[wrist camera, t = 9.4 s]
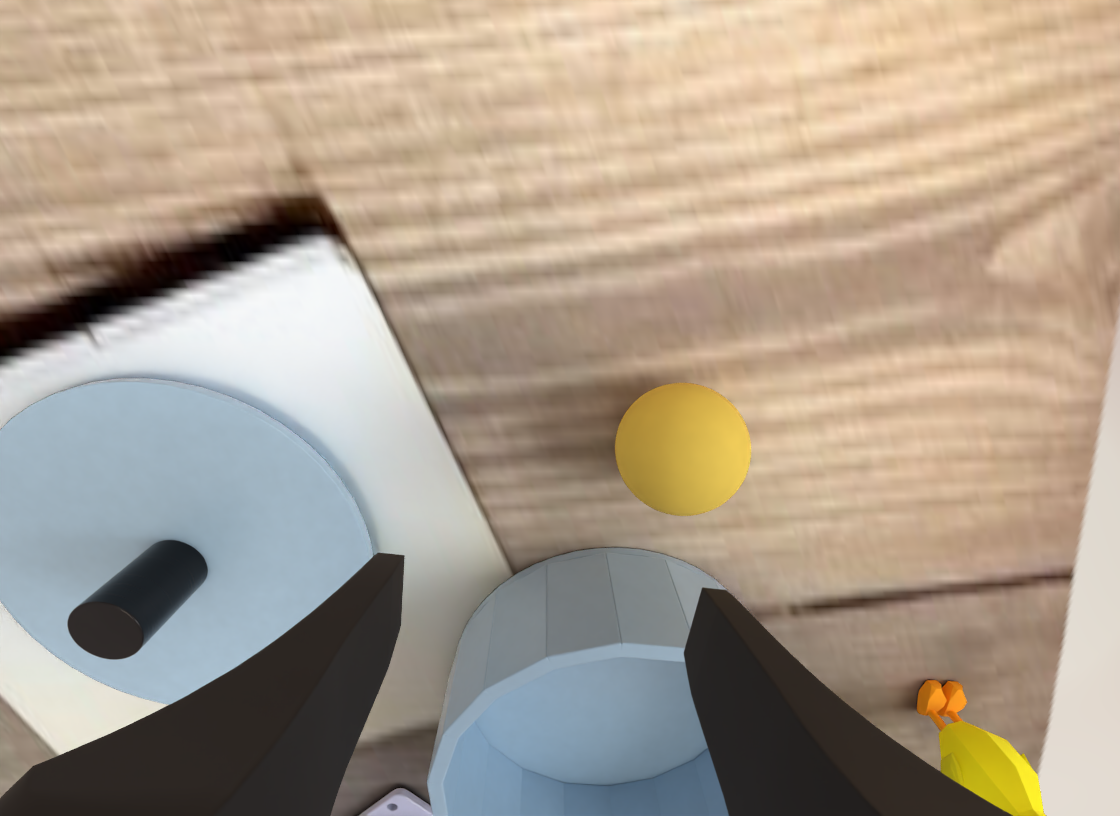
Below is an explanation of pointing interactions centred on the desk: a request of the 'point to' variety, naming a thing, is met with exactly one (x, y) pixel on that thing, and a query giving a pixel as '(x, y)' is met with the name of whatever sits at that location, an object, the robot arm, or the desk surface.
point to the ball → (682, 449)
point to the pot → (577, 695)
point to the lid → (166, 532)
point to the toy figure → (980, 754)
